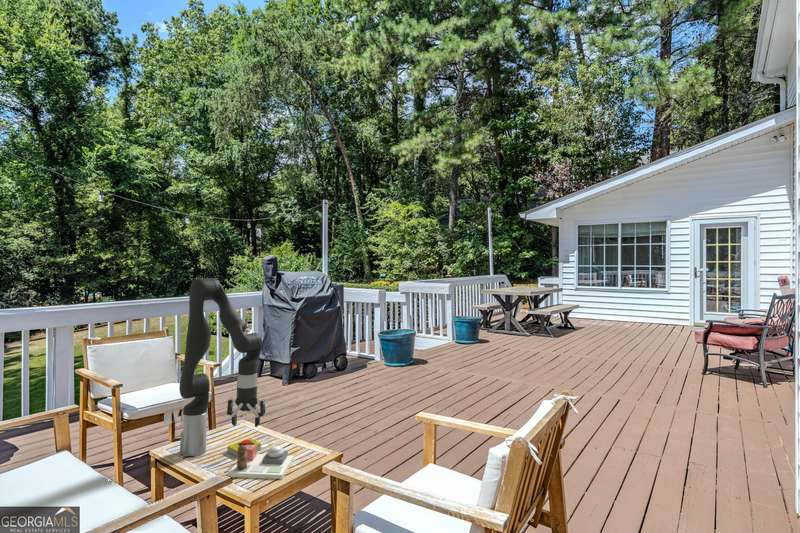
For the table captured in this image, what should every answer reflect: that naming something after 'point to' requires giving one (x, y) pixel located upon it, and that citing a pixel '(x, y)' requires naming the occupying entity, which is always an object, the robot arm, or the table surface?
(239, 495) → the table surface
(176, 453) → the table surface
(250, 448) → the die
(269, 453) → the dome
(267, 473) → the board
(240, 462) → the pawn
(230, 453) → the emergency button
